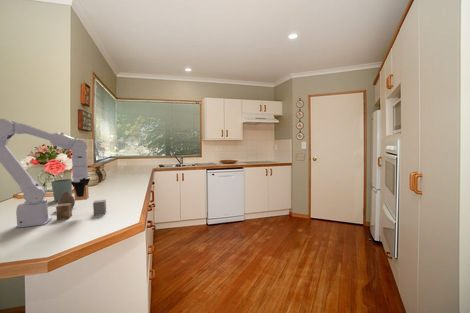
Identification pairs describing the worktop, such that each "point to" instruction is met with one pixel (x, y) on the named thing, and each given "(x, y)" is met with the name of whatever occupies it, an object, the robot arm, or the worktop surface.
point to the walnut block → (64, 211)
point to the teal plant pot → (61, 187)
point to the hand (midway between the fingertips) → (81, 195)
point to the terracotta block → (85, 196)
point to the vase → (66, 199)
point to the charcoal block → (99, 207)
